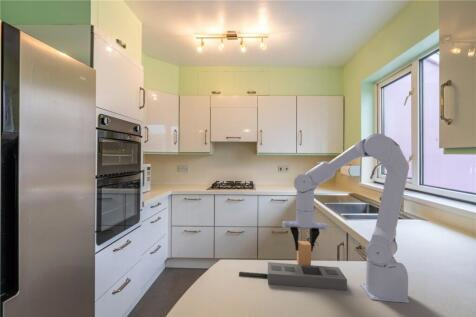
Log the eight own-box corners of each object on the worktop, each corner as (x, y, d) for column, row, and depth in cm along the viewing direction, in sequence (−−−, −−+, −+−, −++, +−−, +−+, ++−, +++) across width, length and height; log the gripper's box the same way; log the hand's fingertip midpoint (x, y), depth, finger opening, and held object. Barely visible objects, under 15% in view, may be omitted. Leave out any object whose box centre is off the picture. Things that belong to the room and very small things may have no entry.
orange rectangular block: (308, 262, 85) (309, 241, 85) (310, 266, 81) (311, 245, 81) (296, 261, 85) (297, 240, 86) (298, 265, 81) (298, 244, 82)
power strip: (338, 276, 77) (338, 266, 77) (346, 290, 69) (347, 279, 69) (240, 269, 81) (240, 259, 81) (237, 281, 73) (237, 270, 73)
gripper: (324, 208, 87) (323, 247, 87) (282, 206, 88) (281, 244, 88) (329, 212, 80) (328, 254, 80) (283, 210, 81) (282, 251, 81)
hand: (303, 250), depth 83 cm, fingers closed on orange rectangular block, 4 cm apart
